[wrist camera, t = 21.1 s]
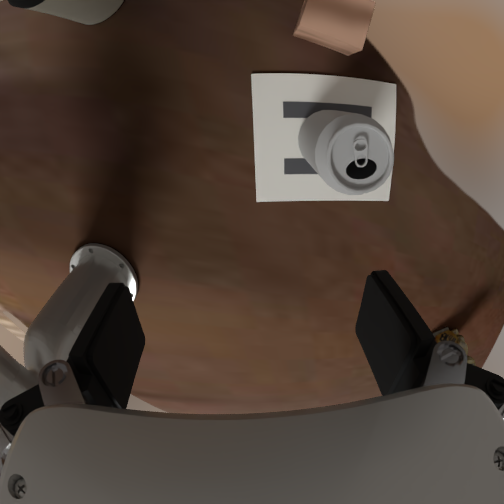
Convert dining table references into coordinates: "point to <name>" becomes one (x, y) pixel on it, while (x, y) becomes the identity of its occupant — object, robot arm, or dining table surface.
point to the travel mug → (73, 8)
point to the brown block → (335, 23)
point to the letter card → (291, 119)
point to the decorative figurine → (453, 336)
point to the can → (347, 150)
